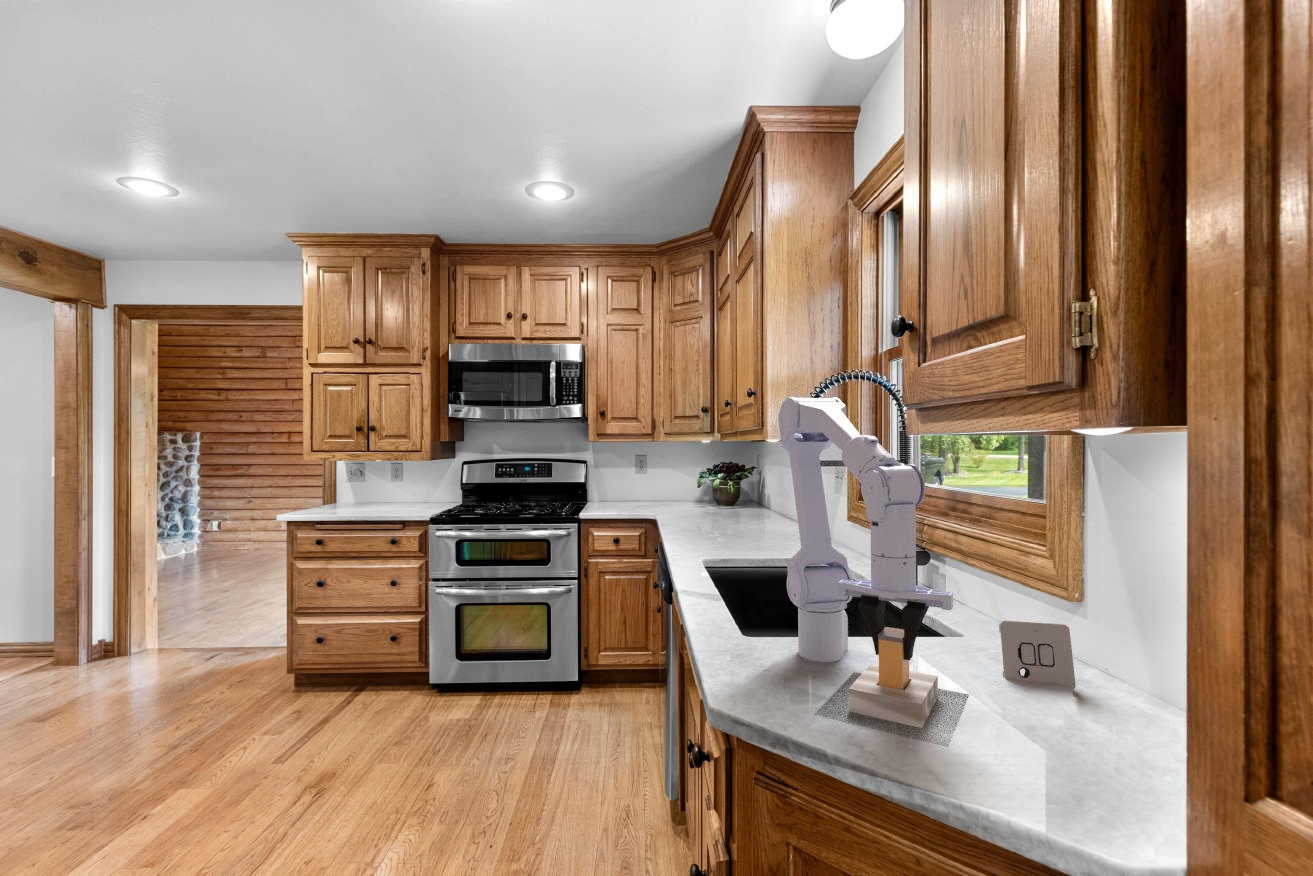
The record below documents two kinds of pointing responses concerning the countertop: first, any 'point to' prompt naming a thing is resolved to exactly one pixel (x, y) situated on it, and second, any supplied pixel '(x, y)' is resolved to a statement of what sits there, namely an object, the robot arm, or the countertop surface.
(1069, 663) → the electrical switch
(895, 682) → the plug
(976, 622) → the countertop surface
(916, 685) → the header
